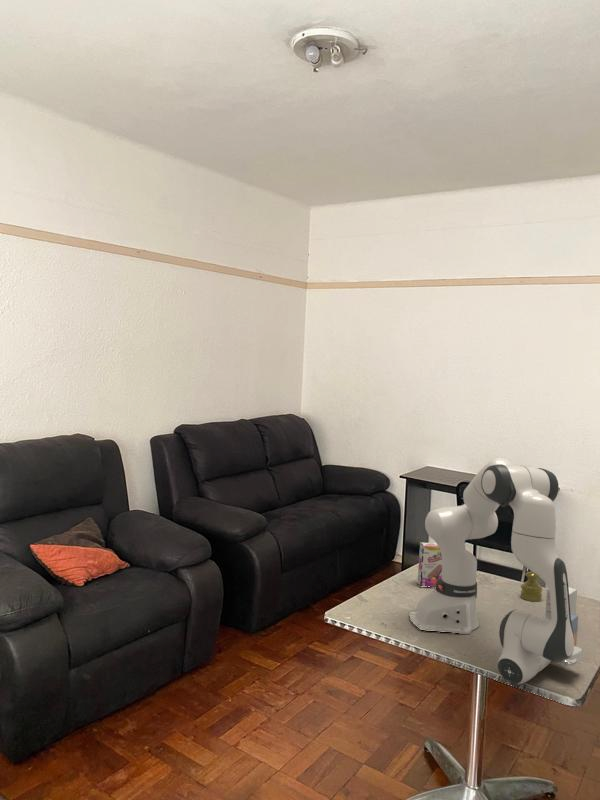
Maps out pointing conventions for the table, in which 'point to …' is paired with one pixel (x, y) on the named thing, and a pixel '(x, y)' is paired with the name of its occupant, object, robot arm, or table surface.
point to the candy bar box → (429, 564)
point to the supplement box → (571, 597)
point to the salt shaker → (531, 588)
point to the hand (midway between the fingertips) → (554, 637)
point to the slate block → (574, 622)
